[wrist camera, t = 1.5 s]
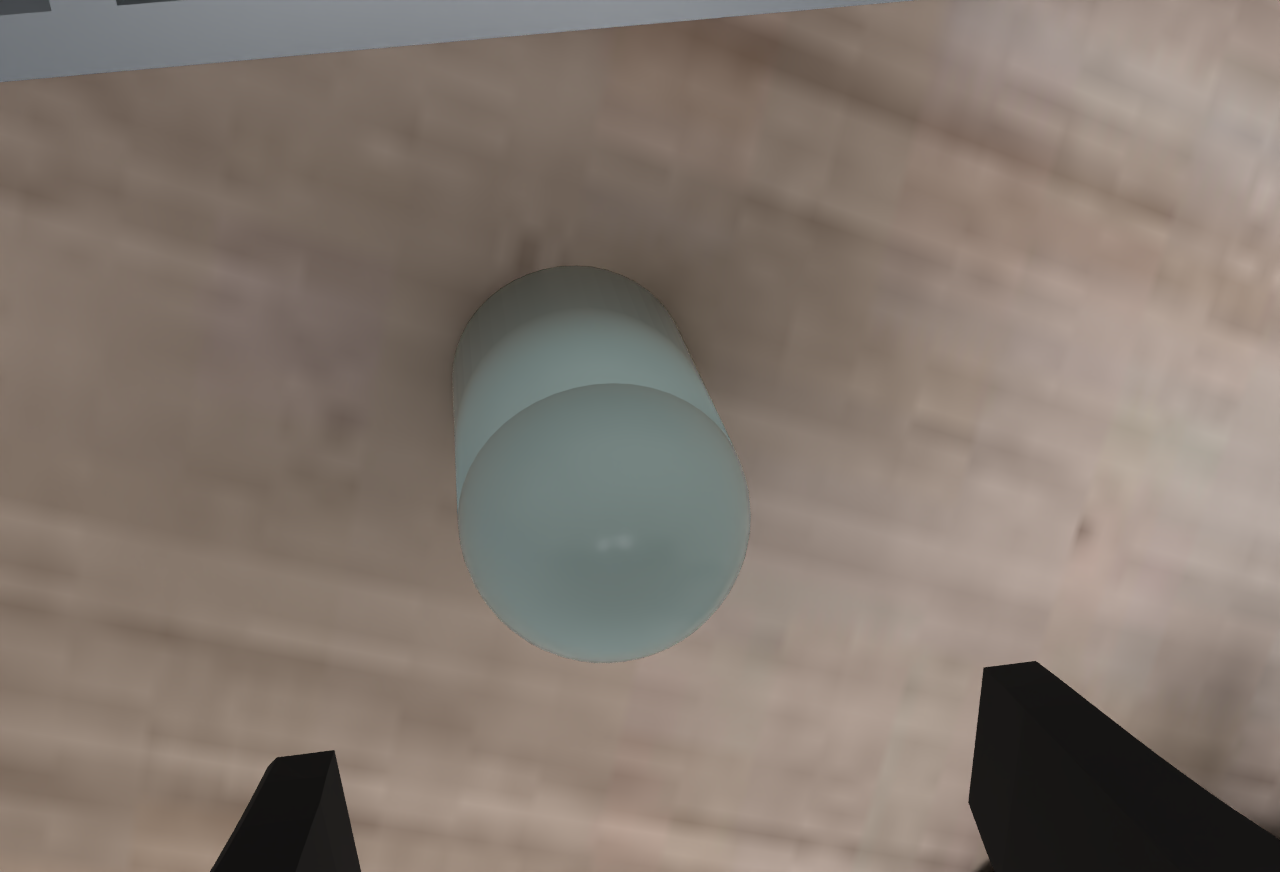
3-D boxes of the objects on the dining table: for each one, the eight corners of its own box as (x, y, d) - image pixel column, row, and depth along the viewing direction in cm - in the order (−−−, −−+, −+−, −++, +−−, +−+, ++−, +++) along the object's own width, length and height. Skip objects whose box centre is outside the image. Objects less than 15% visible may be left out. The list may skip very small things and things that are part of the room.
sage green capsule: (468, 493, 23) (482, 746, 17) (436, 280, 21) (439, 480, 15) (690, 464, 24) (784, 701, 17) (680, 253, 22) (783, 436, 15)
